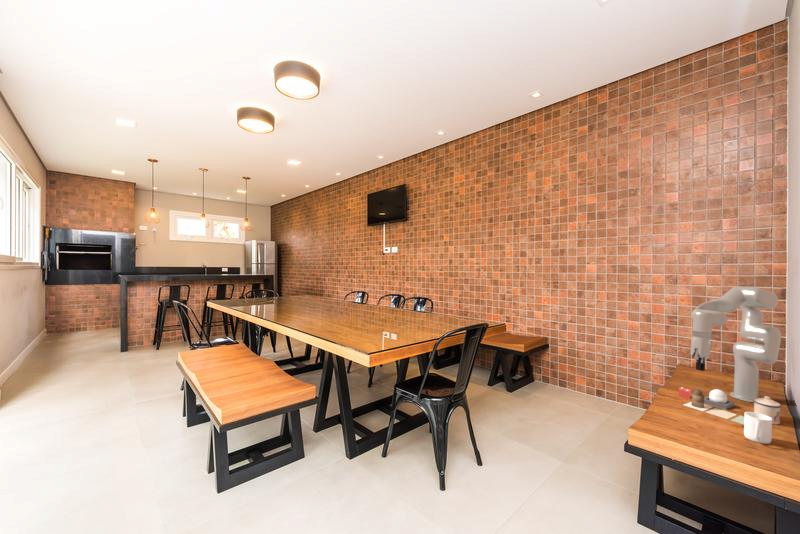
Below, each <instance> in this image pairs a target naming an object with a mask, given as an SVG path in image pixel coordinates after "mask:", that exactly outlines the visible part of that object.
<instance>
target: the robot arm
mask: <svg viewBox="0 0 800 534" xmlns="http://www.w3.org/2000/svg"><path fill="white" fill-rule="evenodd" d="M778 304H779V298H778V296H777V294H775V293H773V292H771V291H770V290H769V291H768V290H766V289H763V288H760V287H753V286H752V287H751V286H733V287H731V288H730V289H729V290H728V291H727V292H725V293H724V294H723V295H722V296H720V297H719V298H717V299H716V298H715V299H713V300H709V301H705V302H703V303H700V304H699V305H697V306H696V308H694V310H692V312H691V314H690V315H691V316H690V317H691V320H692V331H691V332H692V334H691V335H692V336H691V337H692V340H691V345H690V356H692V357H694V358H693V359H694V360H695V370H696V371H701V372H704V371H706V361H707V358H708V357H710V355H711V340H712V331H713V326H715V327H721V326H724V325H725V324H727V322H728V315H727V314H725V313H730V312H735V311H736V310H737V309H738V308H740V310H741V313H742V314H741V315H742V316H741V324H740V328H739V336H740V338H742V339H744V340H748V341H737V342H735V343H734V344H733V346H732V353H733V357H734V374H733V375H734V377H733V379H734V381H733V391H732V392H731V391H730V393H729V396H730V397H732V398H734V399H737V400H739V401H743V402H749V403H754V399H755V398H760V397H759V376H760V375H759V374H760V373H759V370H760V369H759V366H758V364H757V362H758V363H763V364H768V365H773V364H775V363H777V362H778V358H779V354H780V346H781V340H782V333H781V331H780V329H779V327H776V326H772V325H765V324H764V320H765V314H764V313H763V311H762V310H761V309H768V310H771V309H774V308H776V307H777V306H778ZM760 308H761V309H760ZM749 341H753V342H749ZM754 342H759V343H754ZM760 343H764V344H760Z"/></svg>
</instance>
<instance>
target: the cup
mask: <svg viewBox="0 0 800 534" xmlns="http://www.w3.org/2000/svg"><path fill="white" fill-rule="evenodd" d="M743 414H744V424H743V426H744V427H743V436H744V437H745V438H746V439H748V440H750V441H753V442H756V443H759V444H766V445H769V444H771V443H772V434H773V424H772V418H771V417H769V416H766V415H764V414H760V413H756V412H754V411H744V413H743Z"/></svg>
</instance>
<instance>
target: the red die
mask: <svg viewBox="0 0 800 534" xmlns="http://www.w3.org/2000/svg"><path fill="white" fill-rule="evenodd" d="M678 397H679V398H684V399H688V400H691V399H692V389H690V388H685V387H683V386H682V387H679V388H678Z"/></svg>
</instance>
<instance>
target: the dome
mask: <svg viewBox="0 0 800 534" xmlns="http://www.w3.org/2000/svg"><path fill="white" fill-rule="evenodd" d="M708 396H709V400H710V401H714V402H717V403H721V404H727V400H728V396H727V394H726V393H725V392H724V391H723V390H721V389H718V388H717V389H715V388H714V389H712V390H710V391H709V395H708Z"/></svg>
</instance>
